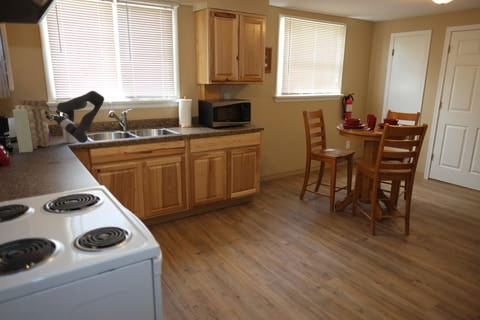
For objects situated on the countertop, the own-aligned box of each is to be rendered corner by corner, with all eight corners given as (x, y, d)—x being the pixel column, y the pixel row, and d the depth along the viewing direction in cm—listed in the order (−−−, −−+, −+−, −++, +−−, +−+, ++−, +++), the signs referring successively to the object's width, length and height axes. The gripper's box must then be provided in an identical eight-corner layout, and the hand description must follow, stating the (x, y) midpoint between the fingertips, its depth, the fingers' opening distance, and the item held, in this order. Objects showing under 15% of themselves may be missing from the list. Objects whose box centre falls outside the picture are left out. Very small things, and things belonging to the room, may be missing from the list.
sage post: (20, 150, 238) (13, 109, 231) (32, 149, 242) (26, 109, 235) (19, 152, 232) (12, 110, 224) (32, 151, 236) (26, 110, 228)
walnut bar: (20, 105, 247) (19, 99, 246) (25, 104, 251) (25, 99, 250) (41, 106, 237) (41, 100, 236) (47, 105, 240) (46, 100, 239)
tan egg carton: (20, 147, 251) (14, 105, 244) (36, 144, 262) (30, 104, 254) (34, 148, 245) (27, 106, 237) (49, 146, 255) (43, 105, 248)
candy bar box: (36, 143, 267) (33, 123, 264) (33, 142, 270) (30, 123, 266) (50, 141, 276) (48, 122, 273) (47, 140, 279) (45, 121, 275)
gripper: (75, 118, 237) (61, 106, 241) (57, 120, 225) (42, 107, 229) (73, 126, 240) (58, 114, 244) (55, 129, 228) (40, 116, 232)
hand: (51, 111), depth 237 cm, fingers open, 8 cm apart
